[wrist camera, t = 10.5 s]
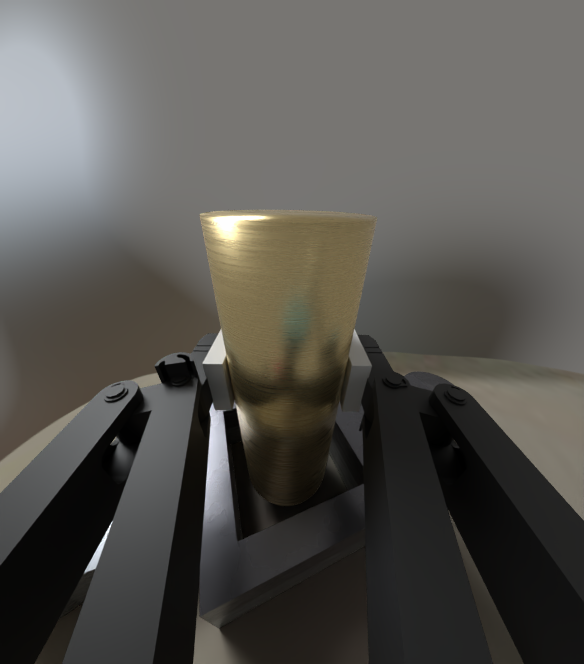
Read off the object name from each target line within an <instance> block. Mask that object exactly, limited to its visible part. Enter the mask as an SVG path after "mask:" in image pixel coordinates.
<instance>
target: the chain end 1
mask: <svg viewBox="0 0 584 664" xmlns="http://www.w3.org/2000/svg"><path fill="white" fill-rule="evenodd" d="M227 431H228V439H229V448H230V456H231V465H232V473H233V482H234V490H235V499H236V507H237V516H238V524H239V533H240V540H242V539H243V536H242V528H241V520H240V512H239V504H238V496H237V488H236V480H235V472H234V464H233V456H232V448H231V444H233V443H236V442H239V441H242V435H241V430H240V425H239V426H236V427H232V428H229V429H227ZM329 454H330V456H331V458H332V460H333V462H334V464H335V466H336V468H337V470H338V472H339V474H340V476H341V478H342V480H343V482H344V484H345V486H346V488H347V490H348V491H349V490H351V489H353V488H355V487H358V484H357V483H356V481H355V479H354V477H353V475H352V473H351V472H350V470H349V468H348V466H347V464H346V463H345V461H344V459H343V457H342V455H341V453H340V452H339V450H338V448H337V446H336V444H335V442H334V441H333V439H332V440H331V445H330V450H329ZM111 524H112V523H111ZM111 524H110V526H109V528H108V530H107V532H106V534H105V535H104V537H103V539H102V541H101V543H100V545H99V546H98V548H97V550H96V552H95V554H94V555H93V557H92V559H91V561H90V563H89V565H88V566H87V568H86V570H85V572H84V574H83V576H82V577H81V579H80V581H79V583H78V585H77V587H76V588H75V590H74V592H73V594H72V596H71V598H70V599H69V601H68V603H67V605H66V607H65V608H64V610H63V612H62V614H61V616H60V617H62V616H64V615H66V614H67V613H69V612H70V611H72V610H73V609H74V608H76V607H77V606H78V605H80V604H81V603H82V602H84V600H85V598H86V595H87V592H88V589H89V586H90V583H91V581H92V578H93V575H94V572H95V569H96V566H97V564H98V561H99V558H100V555H101V552H102V550H103V547H104V544H105V541H106V538H107V535H108V533H109V530H110V527H111ZM365 545H366V543H365V538H364V539H362V540H360V541H358V542H357V543H355V544H353V545H351V546H349V547H348V548H346V549H344V550H342V551H340V552H339V553H337V554H335V555H333V556H331V557H330V558H328V559H326V560H324V561H322V562H320V563H319V564H317V565H315V566H313V567H311V568H310V569H308V570H306V571H304V572H302V573H301V574H299V575H297V576H295V577H293V578H292V579H290V580H288V581H286V582H284V583H282V584H281V585H279V586H277V587H275V588H273V589H272V590H270V591H268V592H266V593H264V594H263V595H261V596H259V597H257V598H255V599H254V600H252V601H250V602H248V603H246V604H244V605H243V606H241V607H239V608H237V609H235V610H234V611H232V612H230V613H228V614H226V615H225V616H223V617H221V618H219V619H217V620H216V621H214V622H212V623H211V624H212V625H214V626H216V627H217V628H220V627H222V626H224V625H226V624H227V623H229V622H231V621H233V620H235V619H236V618H238V617H240V616H242V615H243V614H245V613H247V612H249V611H250V610H252V609H254V608H256V607H258V606H259V605H261V604H263V603H265V602H266V601H268V600H270V599H272V598H273V597H275V596H277V595H279V594H281V593H282V592H284V591H286V590H288V589H289V588H291V587H293V586H295V585H296V584H298V583H300V582H302V581H303V580H305V579H307V578H309V577H311V576H312V575H314V574H316V573H318V572H319V571H321V570H323V569H325V568H326V567H328V566H330V565H332V564H334V563H335V562H337V561H339V560H341V559H342V558H344V557H346V556H348V555H349V554H351V553H353V552H355V551H357V550H358V549H360V548H362V547H364V546H365Z"/></svg>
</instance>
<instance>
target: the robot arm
mask: <svg viewBox="0 0 584 664" xmlns="http://www.w3.org/2000/svg"><path fill="white" fill-rule="evenodd" d="M155 368H156V370H157V373H158V375H159V378H160V380H161V382H162V383H161V384H158V385H153V386H149V387H144V388H139V386H138V384H137V383H136V382H134V381H129V380H127V381H120V382H117V383H114V384H112V385H110V386H108V387H106V388H104V389H103V390H102V391H101V392H100V393H98V394H97V395H96V396H95V397H94V398H93V399H92V400H91V401H90V402H89V403H88V404H87V405H86V406H85V407H84V408H83V409H82V410H81V411H80V412H79V413H78V414H77V415H76V416H75V418H74V419H73V420H72V421H71V422H70V423H69V424H68V425H67V426H66V427H65V428H64V429H63V430H62V431H61V432H60V433H59V434H58V435H57V436H56V437H55V438H54V439H53V440H52V441H51V442H50V443H49V444H48V445H47V446H46V447H45V448H44V449H43V450H42V451H41V452H40V453H39V454H38V455H37V456H36V457H35V458H34V459H33V460H32V461H31V463H30V464H29V465H28V466H27V467H26V468H25V469H24V470H23V471H22V472H21V473H20V474H19V475H18V476H17V477H16V478H15V479H14V480H13V481H12V482H11V483H10V484H9V485H8V486H7V487H6V488H5V489H4V490H3V491H2V492H1V493H0V664H34V663H35V662H36V660H37V658H38V656H39V654H40V652H41V651H42V649H43V647H44V645H45V643H46V641H47V640H48V638H49V636H50V634H51V632H52V630H53V629H54V627H55V625H56V623H57V621H58V619H59V618H60V616H61V614H62V612H63V610H64V608H65V607H66V605H67V603H68V601H69V599H70V598H71V596H72V594H73V592H74V590H75V588H76V587H77V585H78V583H79V581H80V579H81V577H82V576H83V574H84V572H85V570H86V568H87V566H88V565H89V563H90V561H91V559H92V557H93V555H94V554H95V552H96V550H97V548H98V546H99V545H100V543H101V541H102V539H103V537H104V535H105V534H106V532H107V530H108V528H109V526H110V524H111V523H112V524H111V527H110V530H109V533H108V535H107V538H106V541H105V544H104V547H103V550H102V552H101V555H100V558H99V561H98V564H97V566H96V569H95V572H94V575H93V578H92V581H91V583H90V586H89V589H88V592H87V595H86V598H85V600H84V603H83V606H82V609H81V612H80V615H79V617H78V620H77V623H76V626H75V629H74V631H73V634H72V637H71V640H70V643H69V646H68V648H67V651H66V654H65V657H64V660H63V663H62V664H193V657H194V643H195V630H196V616H197V603H198V589H199V575H200V562H201V548H202V535H203V521H204V507H205V494H206V480H207V467H208V453H209V439H210V426H211V416H210V412H209V411H210V408H211V405H212V403H213V405H214V409H215V410H231V411H232V408H233V405H234V401H235V398H234V393H233V388H232V383H231V377H230V372H229V367H228V362H227V356H226V351H225V346H224V340H223V335H222V330H220V332H219V334H207V335H205V336H204V337H203V338H201V339H200V341H199V342H198V344H197V346H196V347H195V348H194V350H193V352H192V353H191V354H188V353H184V352H180V353H174V354H170V355H168V356H166V357H163V358H162V359H161V360H159V361H158V362H157V363H156V365H155ZM361 404H362V407H363V410H364V414H363V418H362V421H361V424H360V428H359V431H362V434H363V470H364V507H365V543H366V579H367V616H368V652H369V664H493V662H492V658H491V655H490V652H489V648H488V645H487V641H486V638H485V635H484V631H483V628H482V624H481V621H480V618H479V614H478V611H477V608H476V604H475V601H474V597H473V594H472V591H471V587H470V584H469V580H468V577H467V574H466V570H465V567H464V563H463V560H462V557H461V553H460V550H459V547H458V543H457V540H456V536H455V533H454V530H453V526H452V523H451V519H450V516H449V513H448V510H449V512H450V514H451V516H452V518H453V520H454V522H455V524H456V526H457V528H458V530H459V532H460V534H461V536H462V538H463V540H464V543H465V545H466V547H467V549H468V551H469V553H470V555H471V557H472V559H473V561H474V563H475V565H476V567H477V569H478V571H479V573H480V575H481V577H482V579H483V581H484V583H485V585H486V587H487V589H488V591H489V593H490V595H491V597H492V599H493V601H494V603H495V605H496V607H497V609H498V612H499V614H500V616H501V618H502V620H503V622H504V624H505V626H506V628H507V630H508V632H509V634H510V636H511V638H512V640H513V642H514V644H515V646H516V648H517V650H518V652H519V654H520V656H521V658H522V660H523V662H524V664H584V521H583V519H582V518H581V517H580V516H579V515H578V514H577V513H576V512H575V511H574V509H573V508H572V507H571V506H570V505H569V504H568V503H567V502H566V501H565V499H564V498H563V497H562V496H561V495H560V494H559V493H558V492H557V490H556V489H555V488H554V487H553V486H552V485H551V484H550V483H549V482H548V480H547V479H546V478H545V477H544V476H543V475H542V474H541V473H540V471H539V470H538V469H537V468H536V467H535V466H534V465H533V464H532V463H531V461H530V460H529V459H528V458H527V457H526V456H525V455H524V454H523V452H522V451H521V450H520V449H519V448H518V447H517V446H516V445H515V444H514V442H513V441H512V440H511V439H510V438H509V437H508V436H507V435H506V434H505V432H504V431H503V430H502V429H501V428H500V427H499V426H498V425H497V423H496V422H495V421H494V420H493V419H492V418H491V417H490V416H489V415H488V413H487V412H486V411H485V410H484V409H483V408H482V407H481V406H480V404H479V403H478V402H477V401H476V400H475V399H474V398H473V397H472V396H471V395H470V394H469V393H468V392H466V391H465V390H463V389H461V388H459V387H457V386H454V385H451V384H445V383H443V384H438V385H437V386H435V387H434V389H433V391H430V390H426V389H422V388H418V387H414V386H411V385H410V383H409V381H408V380H407V379H406V378H405V377H404V376H402V375H400V374H399V373H396V372H394V371H393V370H392V368H391V366H390V364H389V363H388V361H387V359H386V358H385V356H384V354H382V351H381V349H380V348H379V346H378V344H377V342H376V341H375V340H374V339H373V338H371V337H370V336H369V335H357V333H356V331H355V329H354V333H353V338H352V342H351V347H350V352H349V357H348V362H347V367H346V372H345V376H344V381H343V386H342V391H341V396H340V405H341V409H342V412H359V410H360V406H361ZM115 437H117V438H116V439H115V441H114V442H113V443H112V444H111V442H112V441H113V440H114V438H115ZM454 440H455V441H454ZM455 442H456V443H457V444H456V443H455ZM447 508H448V509H447Z"/></svg>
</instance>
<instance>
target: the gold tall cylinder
mask: <svg viewBox="0 0 584 664" xmlns="http://www.w3.org/2000/svg"><path fill="white" fill-rule="evenodd" d="M200 219H201V225H202V230H203V235H204V240H205V246H206V251H207V256H208V261H209V267H210V272H211V277H212V282H213V288H214V293H215V298H216V303H217V309H218V314H219V319H220V325H221V330H222V335H223V340H224V346H225V351H226V356H227V362H228V367H229V372H230V377H231V383H232V388H233V393H234V398H235V404H236V409H237V414H238V420H239V425H240V430H241V435H242V441H243V446H244V451H245V456H246V462H247V467H248V472H249V477H250V480H251V482H252V485H253V486H254V488H255V490H256V491H257V492H258V494H259V495H261V496H262V497H263V498H264V499H265V500H267V501H269V502H271V503H273V504H276V505H280V506H292V505H297V504H300V503H302V502H304V501H306V500H307V499H309V498H310V497H311V496H312V495H313V494H314V493H315V492H316V491H317V490H318V488H319V487H320V485H321V483H322V480H323V478H324V474H325V469H326V464H327V459H328V454H329V450H330V445H331V440H332V435H333V430H334V425H335V420H336V415H337V411H338V406H339V401H340V396H341V391H342V386H343V381H344V376H345V372H346V367H347V362H348V357H349V352H350V347H351V342H352V338H353V333H354V328H355V323H356V318H357V313H358V308H359V303H360V298H361V293H362V289H363V284H364V279H365V273H366V269H367V264H368V260H369V255H370V250H371V244H372V240H373V235H374V230H375V225H376V221H377V217H374V216H370V215H364V214H355V213H344V212H328V211H304V210H234V211H233V210H232V211H215V212H206V213H202V214H200Z"/></svg>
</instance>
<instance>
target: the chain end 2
mask: <svg viewBox="0 0 584 664" xmlns="http://www.w3.org/2000/svg"><path fill="white" fill-rule="evenodd" d="M404 377H405V378H406V379H407V380H408V381H409V383H410V385H411V386H414V387H418V388H422V389H426V390H430V391H433V389H434V387H435V386H437V385H438V384H443V383H445V384H451V385H453V384H452V383H450V382H449V381H447V380H445V379H443V378H441V377H439V376H437V375H434V374H431V373H426V372H411V373H408V374H407V375H405V376H404ZM209 412H210V416H211V426H210V439H209V453H208V467H207V480H206V494H205V507H204V521H203V535H202V548H201V562H200V617H201V618H202V619H204V620H206V621H207V622H209V623H212V622H214V621H216V620H217V619H219V618H221V617H223V616H225V615H226V614H228V613H230V612H232V611H234V610H235V609H237V608H239V607H241V606H243V605H244V604H246V603H248V602H250V601H252V600H254V599H255V598H257V597H259V596H261V595H263V594H264V593H266V592H268V591H270V590H272V589H273V588H275V587H277V586H279V585H281V584H282V583H284V582H286V581H288V580H290V579H292V578H293V577H295V576H297V575H299V574H301V573H302V572H304V571H306V570H308V569H310V568H311V567H313V566H315V565H317V564H319V563H320V562H322V561H324V560H326V559H328V558H330V557H331V556H333V555H335V554H337V553H339V552H340V551H342V550H344V549H346V548H348V547H349V546H351V545H353V544H355V543H357V542H358V541H360V540H362V539H364V538H365V507H364V470H363V434H362V431H359V428H360V424H361V421H362V418H363V414H364V410H363V407H362V404H361V406H360V410H359V412H342V409H341V405H340V401H339V406H338V411H337V415H336V420H335V425H334V430H333V435H332V439H333V441H334V442H335V444H336V446H337V448H338V450H339V452H340V453H341V455H342V457H343V459H344V461H345V463H346V464H347V466H348V468H349V470H350V472H351V473H352V475H353V477H354V479H355V481H356V483H357V484H358V487H355V488H353V489H351V490H349V491H347V492H345V493H342V494H340V495H338V496H336V497H334V498H332V499H329V500H327V501H325V502H323V503H321V504H319V505H316V506H314V507H312V508H310V509H308V510H305V511H303V512H301V513H299V514H297V515H295V516H292V517H290V518H288V519H286V520H284V521H282V522H279V523H277V524H275V525H273V526H271V527H269V528H266V529H264V530H262V531H260V532H258V533H255V534H253V535H251V536H249V537H247V538H245V539H242V540H240V533H239V524H238V516H237V507H236V499H235V490H234V482H233V473H232V465H231V456H230V448H229V439H228V431H227V429H229V428H232V427H236V426H239V420H238V414H237V409H236V404H235V401H234V405H233V408H232V411H231V410H215V409H214V405H213V403H212V405H211V408H210V411H209Z"/></svg>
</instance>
